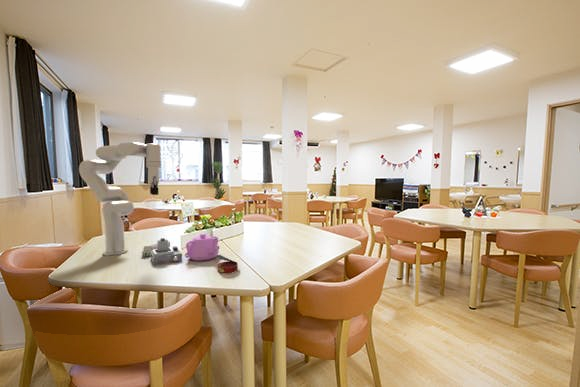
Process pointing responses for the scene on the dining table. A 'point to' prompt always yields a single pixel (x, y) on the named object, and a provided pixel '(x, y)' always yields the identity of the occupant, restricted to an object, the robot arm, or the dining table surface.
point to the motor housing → (166, 256)
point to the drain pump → (162, 245)
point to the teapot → (202, 248)
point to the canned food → (226, 265)
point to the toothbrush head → (150, 249)
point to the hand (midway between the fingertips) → (154, 194)
